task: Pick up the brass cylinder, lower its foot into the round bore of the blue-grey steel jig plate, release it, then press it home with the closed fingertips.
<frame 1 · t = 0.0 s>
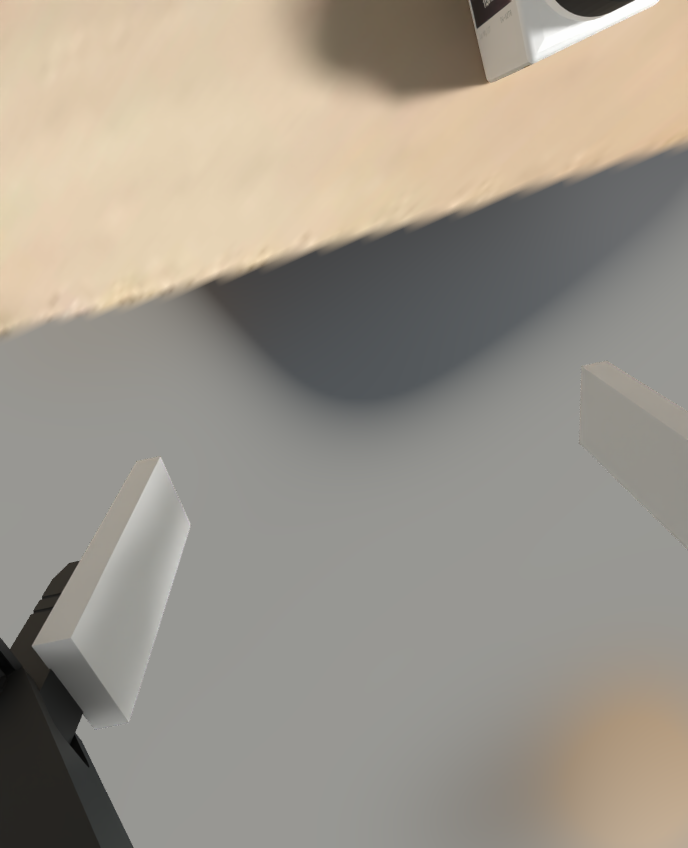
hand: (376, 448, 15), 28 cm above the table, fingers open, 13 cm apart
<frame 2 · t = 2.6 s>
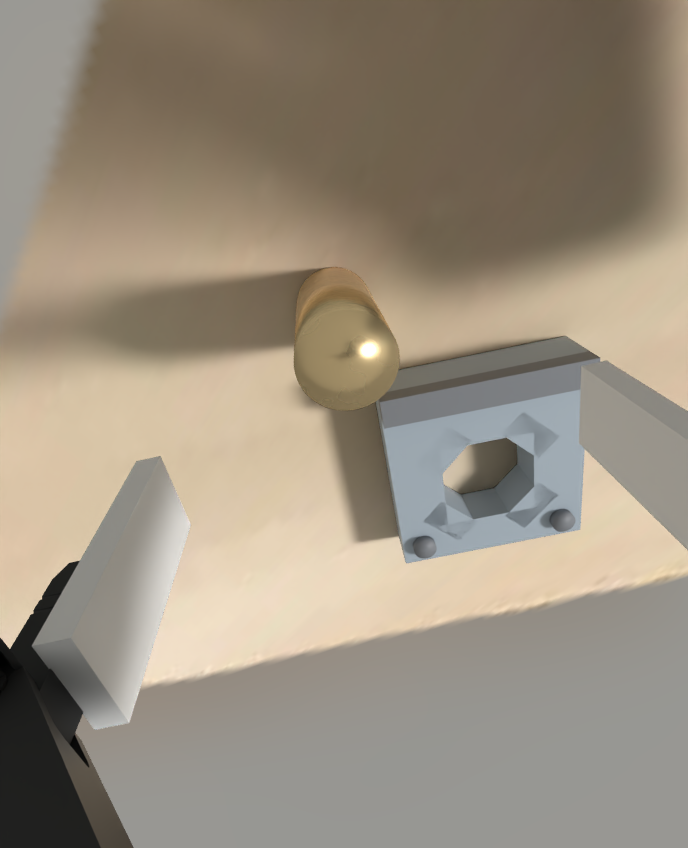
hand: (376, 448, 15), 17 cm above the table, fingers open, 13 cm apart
jig: (474, 445, 35), on the table
brass cylinder: (334, 305, 30), on the table
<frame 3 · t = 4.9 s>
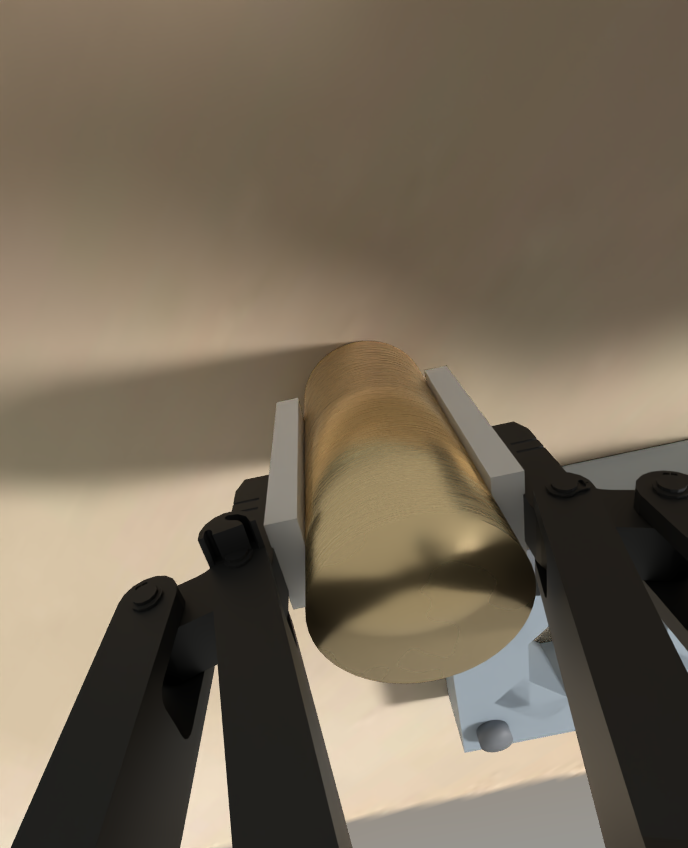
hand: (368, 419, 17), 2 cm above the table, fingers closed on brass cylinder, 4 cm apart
jig: (565, 583, 24), on the table
brass cylinder: (365, 399, 19), on the table, touching gripper
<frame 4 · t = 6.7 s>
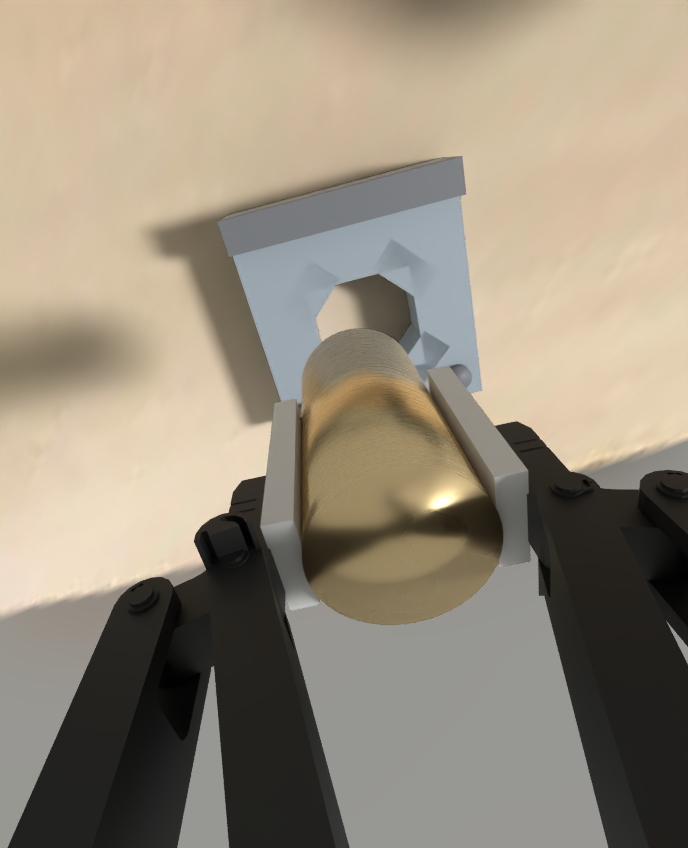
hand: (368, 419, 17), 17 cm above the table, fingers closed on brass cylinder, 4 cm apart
jig: (359, 301, 32), on the table
brass cylinder: (358, 383, 20), point 14 cm above the table, touching gripper
when the fingers open (4 cm above the table, at t = 9.0 s): brass cylinder stays where it is, resting in jig.
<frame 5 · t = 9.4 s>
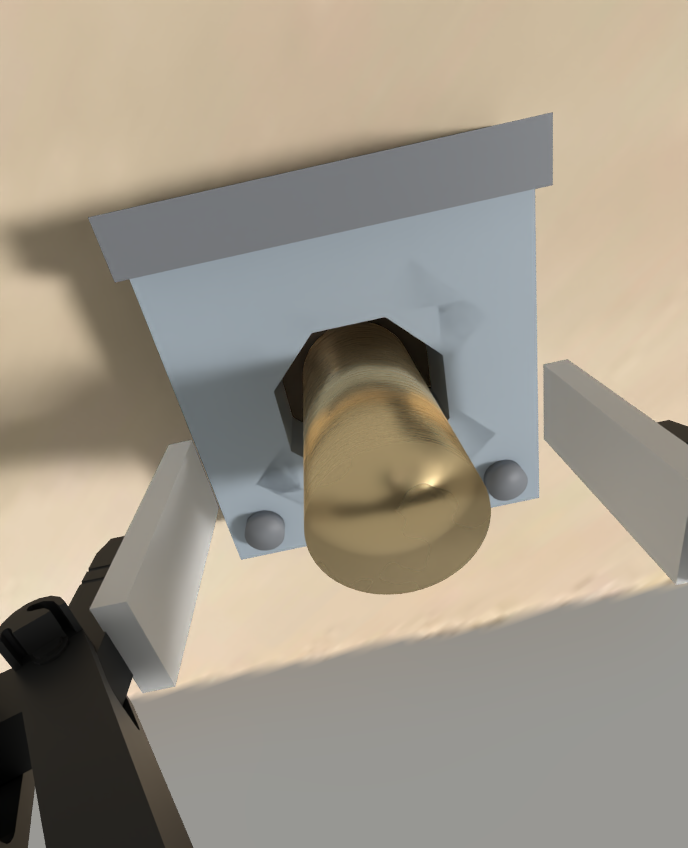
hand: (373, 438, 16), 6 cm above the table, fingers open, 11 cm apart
jig: (351, 353, 20), on the table
brass cylinder: (357, 374, 21), resting in jig
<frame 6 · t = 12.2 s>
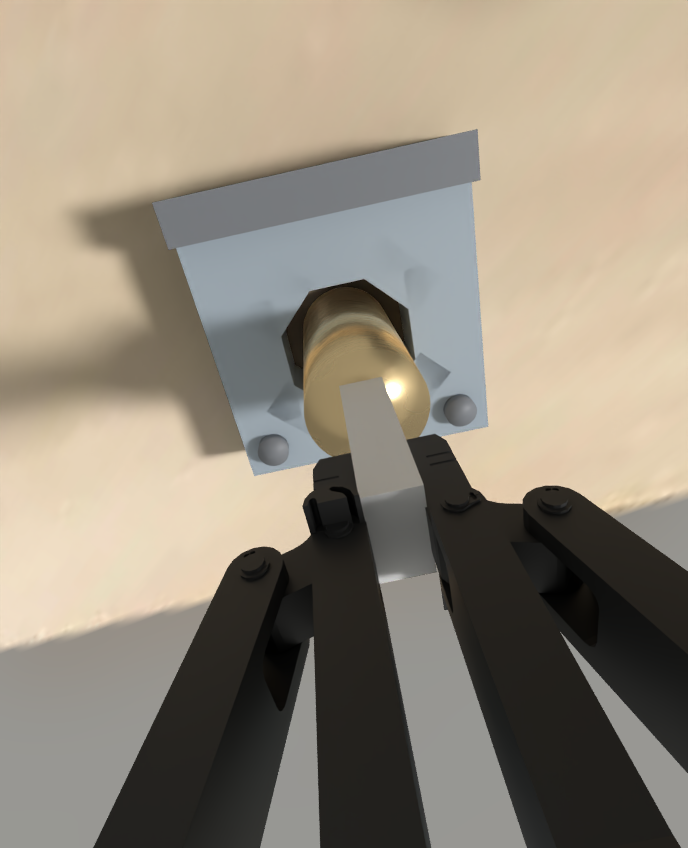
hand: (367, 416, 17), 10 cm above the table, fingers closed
jig: (341, 312, 26), on the table
brass cylinder: (345, 330, 27), resting in jig
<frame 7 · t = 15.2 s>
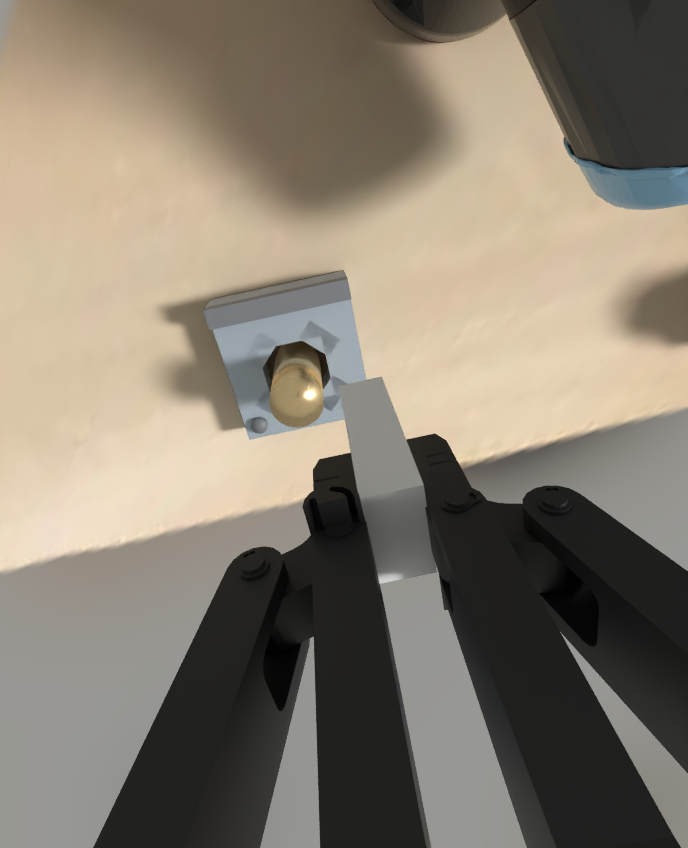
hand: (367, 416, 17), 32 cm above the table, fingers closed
jig: (294, 353, 50), on the table
brass cylinder: (297, 362, 50), resting in jig
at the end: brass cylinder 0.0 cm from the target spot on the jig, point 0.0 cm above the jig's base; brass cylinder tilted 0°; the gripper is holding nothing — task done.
